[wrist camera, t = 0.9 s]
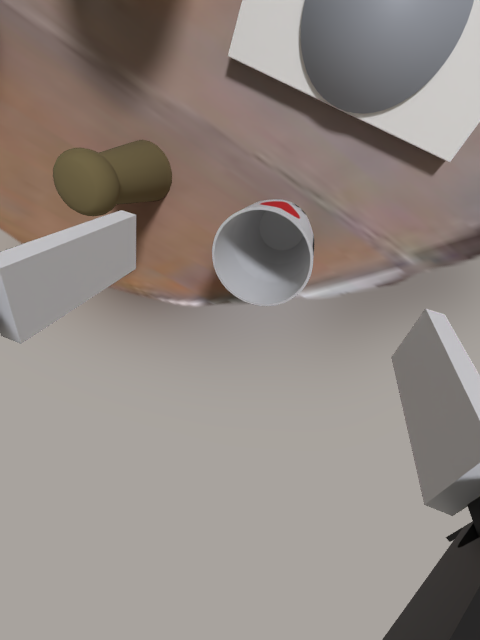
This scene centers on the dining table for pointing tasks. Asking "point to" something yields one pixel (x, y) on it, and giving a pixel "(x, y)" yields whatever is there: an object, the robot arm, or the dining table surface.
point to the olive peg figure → (112, 177)
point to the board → (374, 61)
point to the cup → (265, 252)
